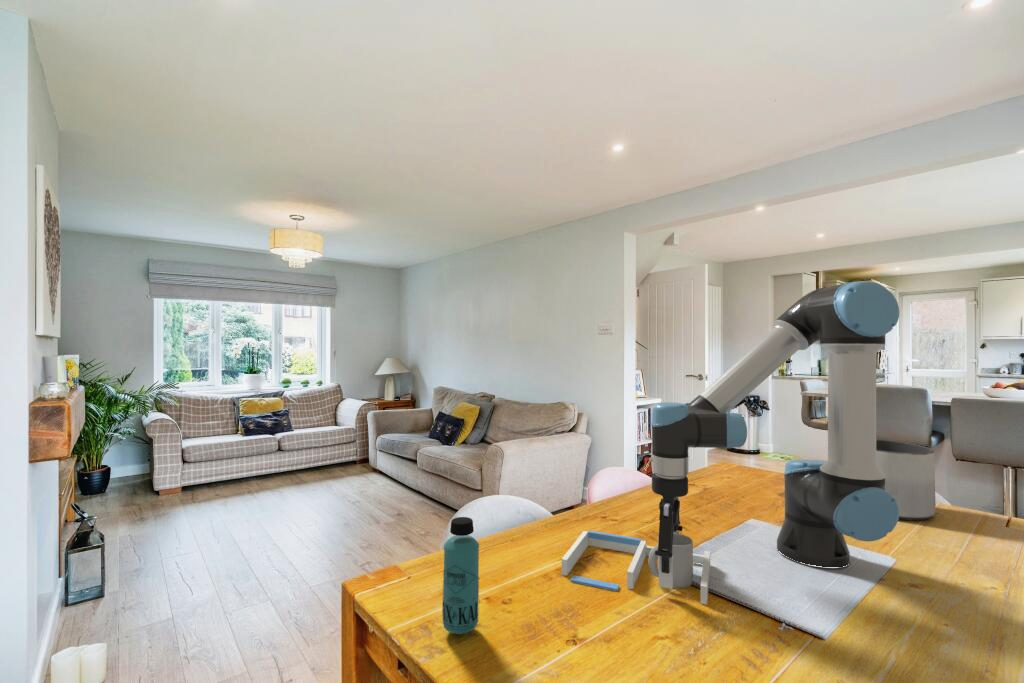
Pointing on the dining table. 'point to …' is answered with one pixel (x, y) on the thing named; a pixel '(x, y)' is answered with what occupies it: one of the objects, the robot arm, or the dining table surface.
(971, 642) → the dining table surface
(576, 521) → the dining table surface
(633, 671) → the dining table surface
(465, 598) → the beverage bottle
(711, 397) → the robot arm
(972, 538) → the dining table surface
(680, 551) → the cup
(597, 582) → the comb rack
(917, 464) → the planter
